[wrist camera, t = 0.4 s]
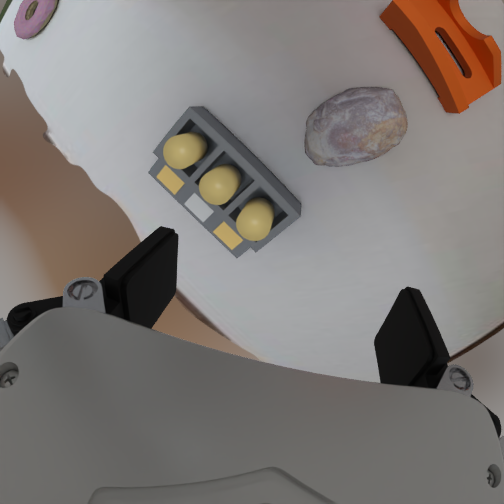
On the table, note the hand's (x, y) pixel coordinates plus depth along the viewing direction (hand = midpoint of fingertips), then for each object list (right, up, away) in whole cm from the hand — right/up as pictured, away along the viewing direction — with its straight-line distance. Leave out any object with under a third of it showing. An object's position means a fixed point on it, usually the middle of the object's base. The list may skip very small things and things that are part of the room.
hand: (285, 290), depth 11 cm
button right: (0, +7, +31) cm, 32 cm away
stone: (+14, +20, +26) cm, 36 cm away
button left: (-10, +17, +28) cm, 34 cm away
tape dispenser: (+28, +33, +16) cm, 46 cm away
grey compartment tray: (-4, +14, +33) cm, 36 cm away
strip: (-10, +10, +36) cm, 39 cm away
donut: (-50, +58, +19) cm, 79 cm away
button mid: (-5, +12, +29) cm, 32 cm away
